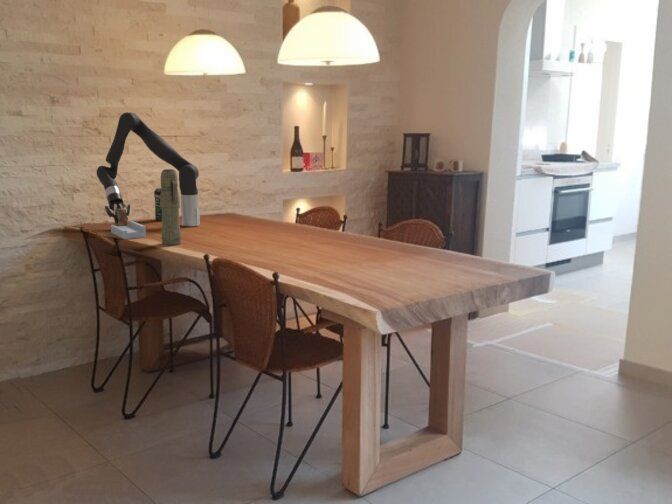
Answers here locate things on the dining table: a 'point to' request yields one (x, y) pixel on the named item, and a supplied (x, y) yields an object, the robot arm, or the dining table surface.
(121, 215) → the brown wooden block
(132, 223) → the tray
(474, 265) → the dining table surface
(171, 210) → the thermos
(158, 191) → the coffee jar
